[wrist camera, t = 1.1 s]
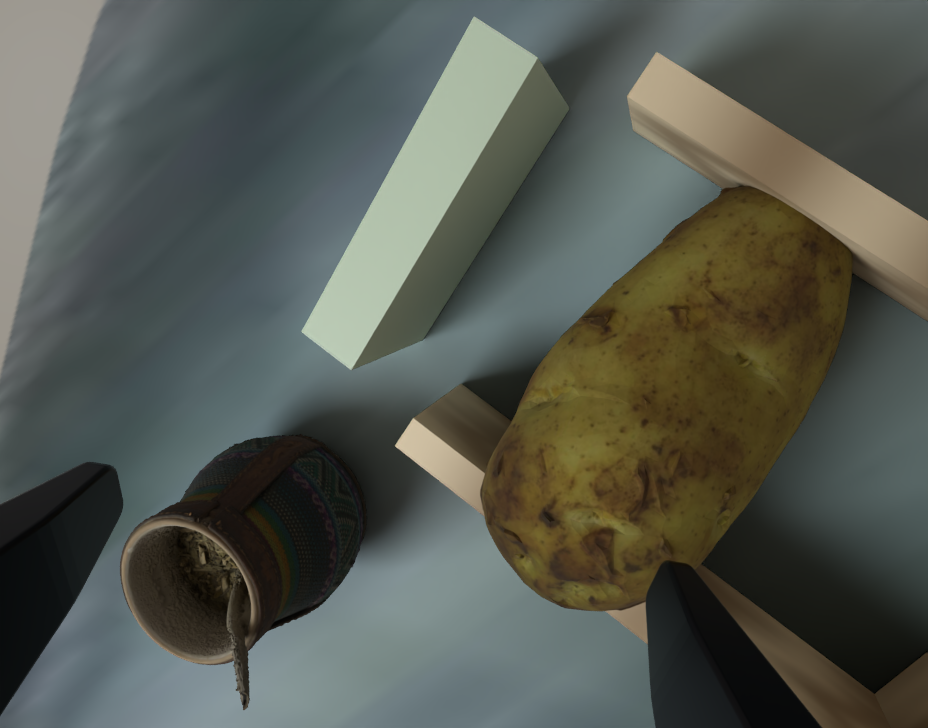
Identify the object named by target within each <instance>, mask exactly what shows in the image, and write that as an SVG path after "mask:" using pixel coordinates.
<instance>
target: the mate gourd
mask: <svg viewBox="0 0 928 728" xmlns="http://www.w3.org/2000/svg"><path fill="white" fill-rule="evenodd" d="M311 438H312V437H308V436H303V435H301V434H300V435H296V436H293V435H291V436H290V435H289V436H284V435H282V436H280V435H279V436H272V437H271V436H270V437H264V438H253V439H250V440H247V441H246V440H245V441H244V442H242V443H239V444H234V446H232V447H231V446H230V447H229V449H227V450H225V451H224V452H222V453H221V454H219V455H217V456H216V457H215V458H214V459H213V460H212V461H211V462H210V463H209V464H207V465H206V466H205V467H204V468H203V469H202V470H201V471H200V472H199V474H198V475H197V476H196V477H195V478H194V480H193V482H192V483H191V484H190V486H189V488H188V489H187V490H186V491H185V492H186V493H185V494H184V496H183V498H182V499H181V501H180V502H177V503H176V504H174V505H171V506H169V507H167V508H165V509H164V510H162V511H161V512H159V513H158V514H156V515H154V516H151V517H150V518H148V519H145V520H144V521H143V522H142V523H140V524H139V525H138V526H137V527H135V529H134V531H133V532H132V533H131V534H130V536H129V538H128V539H127V541H126V543H125V545H124V549H123V552H122V555H121V561H120V576H121V584H122V588H123V592H124V596H125V599H126V602H127V604H128V606H129V608H130V610H131V612H132V614H133V615H134V617H135V619H136V620H137V622H138V623H139V625H140V626H141V627H142V629H143V630H144V631H145V632H146V633H147V635H148V636H149V637H150V638H151V639H152V640H153V641H154V642H156V643H157V644H158V645H159V646H161V647H162V648H163V649H165V650H166V651H168V652H170V653H171V654H173V655H175V656H177V657H179V658H181V659H184V660H186V661H190V662H193V663H197V664H206V665H218V664H226V663H229V662H232V661H234V665H233V666H234V668H235V673H236V674H235V675H237V678H236V681H237V682H238V683H237V685H238V686H237V689H236V691H239V693H240V696H241V698H240V699H241V702H242V705H243V710H245V709H246V708H247V707H248V704H249V700H250V698H249V671H248V668H249V667H248V651H249V650H250V649H251V648H252V647H253V646H254V645H255V643H256V642H257V641H258V640H259V639H260V638H261V637H262V636H263V635H264V634H265V633H266V632H267V631H269V630H271V629H274V628H276V627H278V626H282V625H283V624H284V623H289V622H290V621H291V620H296V619H298V618H300V617H302V616H304V615H307V614H308V613H310V612H311V611H313V610H315V609H316V608H318V607H319V606H320V605H322V604H323V603H324V602H325V601H326V599H328V598H329V597H330V595H331V594H332V593H333V592H334V591H335V590H336V589H337V587H338V586H339V585H340V584H341V583H342V581H343V580H344V578H345V576H346V575H347V574H348V572H349V570H350V568H351V567H353V564H354V562H355V559H356V557H357V554H358V552H359V550H360V544H361V542H362V540H363V538H364V534H365V530H366V523H367V516H366V506H365V501H364V497H363V494H362V491H361V488H360V486H359V484H358V482H357V480H356V477H355V476H354V475H353V473H352V470H350V469H349V467H348V466H347V465H346V464H345V463H344V462H343V461H342V460H341V459H340V458H339V457H338V456H337V455H336V454H335V453H333V452H332V451H331V450H330V449H329V448H328V447H327V446H325V444H323V443H322V442H319V441H318V440H316V439H311Z"/></svg>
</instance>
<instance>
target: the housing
mask: <svg viewBox="0 0 928 728" xmlns="http://www.w3.org/2000/svg"><path fill="white" fill-rule="evenodd" d="M627 99H628V105H629V110H630V115H631V121H632V126H633V131H635V132H636V133H638V134H639V135H641V136H642V137H644V138H645V139H647V140H648V141H650V142H652V143H653V144H655V145H656V146H658V147H659V148H661V149H662V150H664V151H665V152H667V153H669V154H670V155H672V156H673V157H675V158H676V159H678V160H679V161H681V162H682V163H684V164H685V165H687V166H689V167H690V168H692V169H693V170H695V171H696V172H698V173H699V174H701V175H702V176H704V177H706V178H707V179H709V180H710V181H712V182H713V183H715V184H716V185H718V186H719V187H721V188H723V189H724V188H732V187H738V186H742V185H744V186H751V187H754V188H757V189H759V190H762V191H764V192H766V193H768V194H770V195H772V196H774V197H776V198H777V199H779V200H781V201H783V202H784V203H786V204H788V205H789V206H791V207H792V208H794V209H796V210H797V211H799V212H801V213H802V214H804V215H805V216H807V217H808V218H810V219H811V220H813V221H814V222H816V223H817V224H819V225H820V226H821V227H823V228H824V229H825V230H827V231H828V232H829V233H831V234H832V235H833V236H835V237H836V238H837V239H839V240H840V241H841V242H842V243H843V244H844V245H846V246H847V247H848V248H849V249H850V251H851V252H852V254H853V265H852V273H854V274H855V275H857V276H858V277H860V278H861V279H863V280H864V281H866V282H868V283H869V284H871V285H872V286H874V287H875V288H877V289H878V290H880V291H881V292H883V293H885V294H886V295H888V296H889V297H891V298H892V299H894V300H895V301H897V302H898V303H900V304H902V305H903V306H905V307H906V308H908V309H909V310H911V311H912V312H914V313H915V314H917V315H918V316H920V317H922V318H923V319H925V320H926V321H928V221H927V220H926V219H924V218H923V217H921V216H919V215H918V214H916V213H915V212H913V211H911V210H910V209H908V208H907V207H905V206H903V205H902V204H900V203H899V202H897V201H895V200H894V199H892V198H890V197H889V196H887V195H886V194H884V193H882V192H881V191H879V190H878V189H876V188H874V187H873V186H871V185H870V184H868V183H866V182H865V181H863V180H862V179H860V178H858V177H857V176H855V175H854V174H852V173H850V172H849V171H847V170H846V169H844V168H842V167H841V166H839V165H837V164H836V163H834V162H833V161H831V160H829V159H828V158H826V157H825V156H823V155H821V154H820V153H818V152H817V151H815V150H813V149H812V148H810V147H809V146H807V145H805V144H804V143H802V142H801V141H799V140H797V139H796V138H794V137H793V136H791V135H789V134H788V133H786V132H785V131H783V130H781V129H780V128H778V127H776V126H775V125H773V124H772V123H770V122H768V121H767V120H765V119H764V118H762V117H760V116H759V115H757V114H756V113H754V112H752V111H751V110H749V109H748V108H746V107H744V106H743V105H741V104H740V103H738V102H736V101H735V100H733V99H732V98H730V97H728V96H727V95H725V94H724V93H722V92H720V91H719V90H717V89H715V88H714V87H712V86H711V85H709V84H707V83H706V82H704V81H703V80H701V79H699V78H698V77H696V76H695V75H693V74H691V73H690V72H688V71H687V70H685V69H683V68H682V67H680V66H679V65H677V64H675V63H674V62H672V61H671V60H669V59H667V58H666V57H664V56H662V55H661V54H659V53H658V52H656V53H655V55H654V56H653V58H652V59H651V61H650V62H649V64H648V65H647V67H646V68H645V70H644V71H643V73H642V74H641V76H640V77H639V79H638V81H637V82H636V84H635V85H634V87H633V88H632V90H631V91H630V93H629V94H628V96H627ZM511 422H512V421H510V420H509V419H508V418H506V417H505V416H504V415H502V414H501V413H500V412H498V411H497V410H496V409H494V408H493V407H492V406H490V405H489V404H488V403H486V402H485V401H484V400H482V399H481V398H480V397H478V396H477V395H476V394H474V393H473V392H472V391H470V390H469V389H468V388H466V387H465V386H464V385H462V384H460V385H458V386H457V387H455V388H454V389H453V390H451V391H450V392H449V393H447V394H446V395H444V396H443V397H442V398H440V399H439V400H438V401H436V402H435V403H433V404H432V405H431V406H429V407H428V408H427V409H425V410H424V411H422V412H421V413H420V414H418V415H417V416H416V417H414V418H413V419H412V421H411V422H410V424H409V425H408V427H407V428H406V430H405V431H404V433H403V434H402V436H401V437H400V439H399V440H398V442H397V443H396V445H395V447H397V448H398V449H399V450H401V451H402V452H403V453H404V454H406V455H407V456H408V457H410V458H411V459H412V460H413V461H415V462H416V463H417V464H418V465H420V466H421V467H422V468H424V469H425V470H426V471H427V472H429V473H430V474H431V475H432V476H434V477H435V478H436V479H438V480H439V481H440V482H441V483H443V484H444V485H445V486H447V487H448V488H449V489H450V490H452V491H453V492H454V493H455V494H457V495H458V496H459V497H461V498H462V499H463V500H464V501H466V502H467V503H468V504H469V505H471V506H472V507H473V508H475V509H476V510H477V511H478V512H480V513H481V514H482V515H484V511H483V508H482V502H481V497H480V489H481V486H482V482H483V479H484V475H485V471H486V468H487V465H486V464H487V462H488V461H489V460H490V458H491V456H492V454H493V452H494V450H495V448H496V447H497V445H498V443H499V441H500V440H501V438H502V436H503V435H504V433H505V432H506V430H507V428H508V427H509V425H510V423H511ZM695 571H696V572H697V573H698V574H699V576H700V577H701V578H702V579H703V581H704V582H705V583H706V584H707V586H708V587H709V588H710V589H711V591H712V592H713V593H714V594H715V595H716V597H717V598H718V599H719V600H720V602H721V603H722V604H723V605H724V607H725V608H726V609H727V610H728V611H729V613H730V614H731V615H732V616H733V618H734V619H735V620H736V621H737V623H738V624H739V625H740V626H741V628H742V629H743V630H744V631H745V632H746V634H747V635H748V636H749V637H750V639H751V640H752V641H753V642H754V644H755V645H756V646H757V647H758V649H759V650H760V651H761V652H762V653H763V655H764V656H765V657H766V658H767V660H768V661H769V662H770V663H771V665H772V666H773V667H774V668H775V670H776V671H777V672H778V673H779V674H780V676H781V677H782V678H783V679H784V681H785V682H786V683H787V684H788V686H789V687H790V688H791V689H792V691H793V692H794V693H795V694H796V695H797V697H798V698H799V699H800V700H801V702H802V703H803V704H804V705H805V707H806V708H807V709H808V710H809V712H810V713H811V714H812V715H813V716H814V718H815V719H816V720H817V721H818V723H819V724H820V725H821V726H822V728H928V652H927V653H925V654H924V655H923V656H922V657H920V658H919V659H918V660H917V661H915V662H914V663H913V664H911V665H910V666H909V667H908V668H906V669H905V670H904V671H903V672H901V673H900V674H899V675H898V676H896V677H895V678H894V679H893V680H891V681H890V682H889V683H888V684H886V685H885V686H884V687H883V688H881V689H880V690H879V691H878V692H876V693H875V694H874V693H872V692H871V691H870V690H868V689H867V688H866V687H864V686H863V685H862V684H860V683H859V682H858V681H856V680H855V679H854V678H852V677H851V676H850V675H848V674H847V673H846V672H844V671H843V670H842V669H840V668H839V667H838V666H836V665H835V664H834V663H832V662H831V661H830V660H828V659H827V658H826V657H824V656H823V655H822V654H820V653H819V652H818V651H816V650H815V649H814V648H812V647H811V646H810V645H808V644H807V643H806V642H804V641H803V640H802V639H801V638H799V637H798V636H797V635H795V634H794V633H793V632H791V631H790V630H789V629H787V628H786V627H785V626H783V625H782V624H781V623H779V622H778V621H777V620H775V619H774V618H773V617H771V616H770V615H769V614H767V613H766V612H765V611H763V610H762V609H761V608H759V607H758V606H757V605H755V604H754V603H753V602H751V601H750V600H749V599H747V598H746V597H745V596H743V595H742V594H741V593H739V592H738V591H737V590H735V589H734V588H733V587H731V586H730V585H729V584H727V583H726V582H725V581H723V580H722V579H721V578H719V577H718V576H717V575H715V574H714V573H713V572H711V571H710V570H709V569H707V568H706V567H705V566H703V565H702V564H700V565H699V566H698V567H697V568H696V569H695ZM606 612H607V613H609V614H610V615H611V616H612V617H614V618H615V619H616V620H617V621H619V622H620V623H621V624H623V625H624V626H625V627H626V628H628V629H629V630H630V631H632V632H633V633H634V634H635V635H637V636H638V637H639V638H640V639H642V640H643V641H644V642H646V643H647V644H648V639H647V622H646V602H644V603H642V604H639V605H637V606H634V607H631V608H628V609H625V610H622V611H619V610H610V611H606Z"/></svg>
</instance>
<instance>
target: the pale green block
mask: <svg viewBox="0 0 928 728" xmlns="http://www.w3.org/2000/svg"><path fill="white" fill-rule="evenodd" d="M569 109H570V108H569V107H568V105H567V103H566V102H565V100H564V99H563V97H562V95H561V94H560V92H559V91H558V89H557V87H556V86H555V84H554V83H553V81H552V79H551V78H550V76H549V75H548V73H547V71H546V70H545V68H544V67H543V65H542V63H541V62H540V60H539V59H538V58H537V57H536V56H534V55H533V54H531V53H530V52H528V51H527V50H525V49H524V48H522V47H520V46H519V45H517V44H516V43H514V42H513V41H511V40H510V39H508V38H506V37H505V36H503V35H502V34H500V33H499V32H497V31H496V30H494V29H493V28H491V27H489V26H488V25H486V24H485V23H483V22H482V21H480V20H479V19H477V18H475V17H474V18H473V19H472V21H471V23H470V25H469V27H468V29H467V30H466V32H465V34H464V36H463V38H462V40H461V41H460V43H459V45H458V47H457V49H456V50H455V52H454V54H453V56H452V58H451V60H450V61H449V63H448V65H447V67H446V69H445V71H444V72H443V74H442V76H441V78H440V80H439V82H438V83H437V85H436V87H435V89H434V91H433V92H432V94H431V96H430V98H429V100H428V102H427V103H426V105H425V107H424V109H423V111H422V113H421V114H420V116H419V118H418V120H417V122H416V124H415V125H414V127H413V129H412V131H411V133H410V134H409V136H408V138H407V140H406V142H405V144H404V145H403V147H402V149H401V151H400V153H399V155H398V156H397V158H396V160H395V162H394V164H393V166H392V167H391V169H390V171H389V173H388V175H387V177H386V178H385V180H384V182H383V184H382V186H381V187H380V189H379V191H378V193H377V195H376V197H375V198H374V200H373V202H372V204H371V206H370V208H369V209H368V211H367V213H366V215H365V217H364V219H363V220H362V222H361V224H360V226H359V228H358V229H357V231H356V233H355V235H354V237H353V239H352V240H351V242H350V244H349V246H348V248H347V250H346V251H345V253H344V255H343V257H342V259H341V261H340V262H339V264H338V266H337V268H336V270H335V271H334V273H333V275H332V277H331V279H330V281H329V282H328V284H327V286H326V288H325V290H324V292H323V293H322V295H321V297H320V299H319V301H318V303H317V304H316V306H315V308H314V310H313V312H312V313H311V315H310V317H309V319H308V321H307V323H306V324H305V326H304V328H303V330H302V333H304V334H305V335H306V336H308V337H309V338H310V339H311V340H313V341H314V342H315V343H317V344H318V345H319V346H320V347H322V348H323V349H324V350H326V351H327V352H328V353H330V354H331V355H332V356H333V357H335V358H336V359H337V360H339V361H340V362H341V363H343V364H344V365H345V366H346V367H348V368H349V369H350V370H353V369H355V368H358V367H360V366H362V365H365V364H367V363H370V362H372V361H374V360H377V359H379V358H381V357H384V356H386V355H389V354H391V353H393V352H396V351H398V350H401V349H403V348H405V347H408V346H410V345H412V344H415V343H417V342H420V341H422V340H423V339H424V338H425V336H426V334H427V333H428V331H429V330H430V328H431V326H432V325H433V323H434V322H435V320H436V319H437V317H438V315H439V314H440V312H441V311H442V309H443V308H444V306H445V304H446V303H447V301H448V300H449V298H450V297H451V295H452V293H453V292H454V290H455V289H456V287H457V286H458V284H459V282H460V281H461V279H462V278H463V276H464V275H465V273H466V271H467V270H468V268H469V267H470V265H471V263H472V262H473V260H474V259H475V257H476V256H477V254H478V252H479V251H480V249H481V248H482V246H483V245H484V243H485V241H486V240H487V238H488V237H489V235H490V234H491V232H492V230H493V229H494V227H495V226H496V224H497V223H498V221H499V219H500V218H501V216H502V215H503V213H504V212H505V210H506V208H507V207H508V205H509V204H510V202H511V200H512V199H513V197H514V196H515V194H516V193H517V191H518V189H519V188H520V186H521V185H522V183H523V182H524V180H525V178H526V177H527V175H528V174H529V172H530V171H531V169H532V167H533V166H534V164H535V163H536V161H537V160H538V158H539V156H540V155H541V153H542V152H543V150H544V148H545V147H546V145H547V144H548V142H549V141H550V139H551V137H552V136H553V134H554V133H555V131H556V130H557V128H558V126H559V125H560V123H561V122H562V120H563V119H564V117H565V115H566V114H567V112H568V111H569Z"/></svg>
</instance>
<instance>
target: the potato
mask: <svg viewBox="0 0 928 728" xmlns="http://www.w3.org/2000/svg"><path fill="white" fill-rule="evenodd" d="M852 265H853V254H852V252H851V251H850V249H849V248H848V247H847V246H846V245H844V244H843V243H842V242H841V241H840V240H839V239H837V238H836V237H835V236H833V235H832V234H831V233H829V232H828V231H827V230H825V229H824V228H823V227H821V226H820V225H819V224H817V223H816V222H814V221H813V220H811V219H810V218H808V217H807V216H805V215H804V214H802V213H801V212H799V211H797V210H796V209H794V208H792V207H791V206H789V205H788V204H786V203H784V202H783V201H781V200H779V199H777V198H776V197H774V196H772V195H770V194H768V193H766V192H764V191H762V190H759V189H757V188H754V187H751V186H744V185H742V186H738V187H732V188H724V189H722V191H721V193H720V195H719V197H718V198H716V199H715V200H713V201H712V202H710V203H709V204H707V205H706V206H704V207H703V208H701V209H700V210H699V211H698V212H696V213H695V214H694V215H692V216H691V217H690V218H688V219H686V220H684V221H682V222H681V223H680V224H678V225H677V226H676V227H675V228H674V229H673V230H672V231H671V232H670V233H669V234H668V235H667V236H666V237H665V238H664V239H663V242H662V243H661V244H660V245H659V246H657V247H656V248H655V249H654V250H653V251H652V252H651V253H649V254H648V255H647V256H646V257H645V258H643V259H642V260H641V261H640V262H639V263H638V264H636V265H635V266H634V267H633V268H632V269H631V270H630V271H629V272H627V273H626V274H625V275H624V276H623V277H622V278H621V279H619V280H618V281H616V282H615V283H613V286H612V287H611V288H610V289H608V290H607V291H606V292H605V293H604V294H603V295H602V296H601V297H600V298H599V299H598V300H597V301H596V302H595V303H594V304H593V305H592V306H591V307H590V308H589V309H588V310H587V311H586V312H585V313H584V315H583V316H582V317H581V318H579V320H578V321H577V322H576V323H575V324H574V325H572V326H571V327H570V328H569V329H568V330H567V331H566V332H565V333H564V334H563V335H562V336H561V337H560V339H559V340H558V341H557V343H556V344H555V345H554V346H553V347H552V348H551V350H550V351H549V352H548V354H547V355H546V356H545V358H544V359H543V360H542V362H541V363H540V364H539V366H538V367H537V369H536V370H535V372H534V374H533V375H532V377H531V379H530V381H529V383H528V386H527V388H526V390H525V393H524V395H523V397H522V399H521V401H520V403H519V406H518V409H517V412H516V414H515V416H514V418H513V420H512V422H511V423H510V425H509V427H508V428H507V430H506V432H505V433H504V435H503V436H502V438H501V440H500V441H499V443H498V445H497V447H496V448H495V450H494V452H493V454H492V456H491V458H490V460H489V461H488V462H487V464H486V465H487V468H486V471H485V475H484V479H483V482H482V486H481V489H480V497H481V502H482V508H483V511H484V516H485V521H486V525H487V528H488V530H489V532H490V534H491V536H492V538H493V540H494V542H495V544H496V546H497V548H498V549H499V551H500V552H501V554H502V556H503V557H504V558H505V560H506V561H507V562H508V563H509V565H510V566H511V567H512V568H513V570H514V571H515V572H516V573H517V575H518V576H519V577H520V578H521V580H522V581H523V582H524V583H525V584H526V585H527V586H529V587H530V588H531V589H532V590H533V591H535V592H536V593H537V594H538V595H540V596H541V597H543V598H545V599H547V600H549V601H551V602H553V603H555V604H557V605H559V606H561V607H564V608H569V609H577V610H586V611H610V610H619V611H622V610H625V609H628V608H631V607H634V606H637V605H639V604H642V603H644V602H646V595H647V591H648V589H649V587H650V585H651V583H652V581H653V579H654V577H655V575H656V573H657V571H658V569H659V567H660V565H661V563H662V562H663V561H665V560H670V561H676V562H682V563H687V564H689V565H690V566H692V567H693V568H694V570H695V569H696V568H697V567H698V566H699V565H700V564H701V563H702V562H703V561H704V560H705V558H706V557H707V556H708V555H709V553H710V552H711V551H712V550H713V548H714V546H715V545H716V543H717V542H718V541H719V540H720V538H721V537H722V536H723V535H724V534H725V533H726V531H727V530H728V528H729V527H730V525H731V524H732V523H733V522H734V520H735V519H736V518H737V517H738V516H739V515H740V513H741V512H742V511H743V510H744V509H745V507H746V506H747V505H748V503H749V502H750V501H751V499H752V498H753V497H754V495H755V494H756V492H757V491H758V489H759V488H760V486H761V484H762V483H763V481H764V480H765V478H766V476H767V475H768V473H769V471H770V470H771V468H772V466H773V465H774V463H775V462H776V460H777V459H778V457H779V456H780V454H781V453H782V451H783V449H784V448H785V446H786V445H787V443H788V442H789V441H790V439H791V438H792V436H793V435H794V434H795V432H796V431H797V429H798V427H799V425H800V424H801V422H802V421H803V419H804V418H805V416H806V413H807V411H808V409H809V407H810V405H811V403H812V401H813V399H814V397H815V396H816V394H817V392H818V390H819V388H820V386H821V385H822V383H823V381H824V379H825V376H826V374H827V372H828V369H829V367H830V365H831V363H832V360H833V358H834V356H835V353H836V350H837V347H838V344H839V341H840V338H841V335H842V332H843V328H844V324H845V319H846V313H847V306H848V300H849V294H850V287H851V280H852Z"/></svg>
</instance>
